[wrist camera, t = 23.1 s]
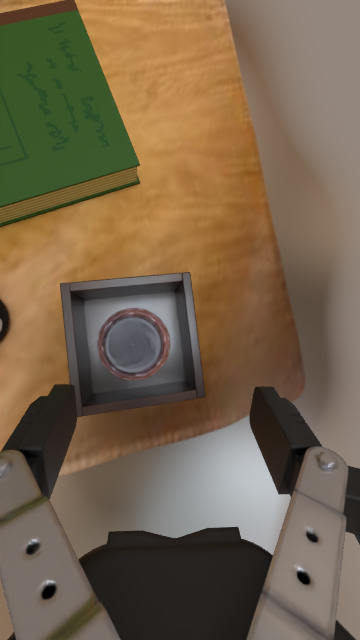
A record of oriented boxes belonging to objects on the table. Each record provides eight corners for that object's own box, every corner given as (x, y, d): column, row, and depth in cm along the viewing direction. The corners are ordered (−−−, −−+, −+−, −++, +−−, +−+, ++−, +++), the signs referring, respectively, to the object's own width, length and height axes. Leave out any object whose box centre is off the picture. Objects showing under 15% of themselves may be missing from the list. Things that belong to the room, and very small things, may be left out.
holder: (179, 285, 34) (190, 271, 27) (191, 385, 33) (205, 397, 26) (76, 295, 32) (59, 283, 25) (87, 400, 32) (73, 417, 25)
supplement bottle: (138, 304, 32) (137, 285, 21) (174, 343, 32) (193, 346, 21) (96, 340, 31) (72, 342, 20) (134, 381, 31) (131, 404, 20)
